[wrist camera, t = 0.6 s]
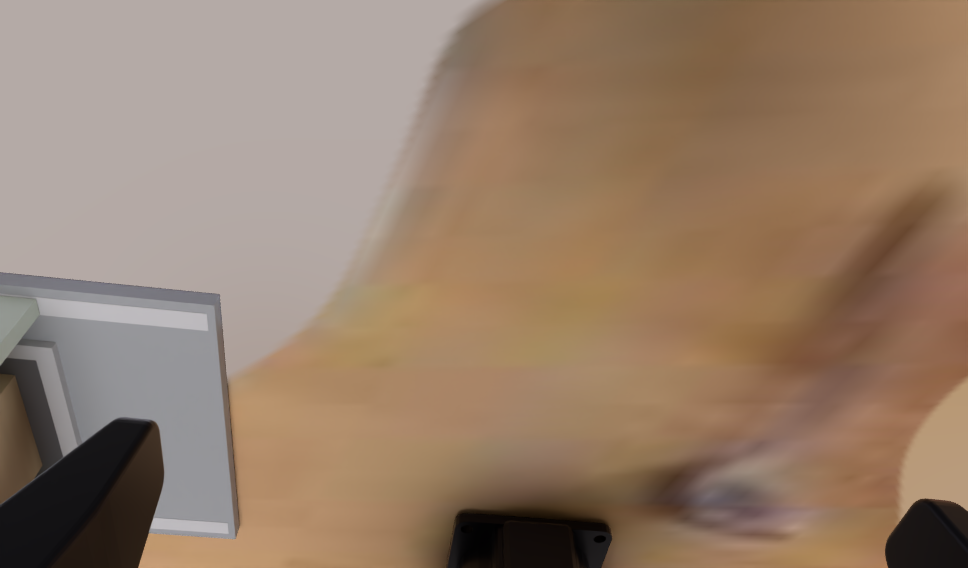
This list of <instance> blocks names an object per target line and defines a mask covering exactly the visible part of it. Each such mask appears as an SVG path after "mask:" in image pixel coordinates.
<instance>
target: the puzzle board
mask: <svg viewBox="0 0 968 568" xmlns="http://www.w3.org/2000/svg"><path fill="white" fill-rule="evenodd" d="M0 296H8V297H18V298H28V299H36V302H37V305H38V309H39V313H40V315H39V316H38V318H37V319H36V320H35V321H34V323H33V324H32V325H31V327H30V328H29V329H28V331H27V332H26V333H25V334H24V336H23V337H22V338H21V340H20V341H19V342H18V343H17V345H16V346H15V347H14V349H13V350H12V351H11V352H10V354H9V355H8V356H7V358H6V359H5V360H4V362H3V363H2V364H1V365H0V374H8V375H15V378H16V381H17V384H18V387H19V391H20V394H21V397H22V400H23V404H24V407H25V410H26V413H27V417H28V420H29V423H30V426H31V429H32V433H33V436H34V439H35V442H36V446H37V449H38V452H39V455H40V459H41V462H42V467H41V468H40V470H39V472H38V473H37V475H36V477H37V476H39V475H40V474H41V473H43V472H44V471H45V470H47V469H48V468H49V467H51V466H52V465H53V464H55V463H56V462H57V461H59V460H60V459H61V458H63V457H64V456H65V455H67V454H68V453H69V452H71V451H72V450H73V449H75V448H76V447H77V446H79V445H80V444H81V443H83V442H84V441H85V440H87V439H88V438H89V437H91V436H92V435H93V434H95V433H96V432H97V431H99V430H100V429H101V428H103V427H104V426H105V425H107V424H108V423H109V422H111V421H112V420H114V419H116V418H119V417H130V418H140V419H150V420H153V421H155V422H156V423H157V424H158V427H159V430H160V437H161V446H162V454H163V462H164V483H163V488H162V492H161V495H160V498H159V501H158V505H157V508H156V511H155V514H154V518H153V521H152V524H151V527H150V531H149V533H154V534H168V535H182V536H197V537H211V538H225V539H236V536H237V533H238V530H239V516H238V505H237V493H236V481H235V470H234V458H233V446H232V434H231V423H230V411H229V399H228V388H227V376H226V365H225V353H224V341H223V329H222V317H221V307H220V295H219V294H212V293H201V292H191V291H181V290H172V289H161V288H152V287H141V286H131V285H121V284H111V283H101V282H91V281H81V280H71V279H60V278H51V277H41V276H31V275H21V274H11V273H1V272H0ZM36 477H35V478H36ZM35 478H34V479H35Z"/></svg>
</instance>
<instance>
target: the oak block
mask: <svg viewBox="0 0 968 568" xmlns="http://www.w3.org/2000/svg"><path fill="white" fill-rule="evenodd" d="M41 467H42V462H41V459H40V455H39V452H38V449H37V446H36V442H35V439H34V436H33V433H32V429H31V426H30V423H29V420H28V417H27V413H26V410H25V407H24V404H23V400H22V397H21V394H20V391H19V387H18V384H17V381H16V378H15V375H8V374H0V504H2V503H3V502H4V501H6V500H7V499H8V498H10V497H11V496H12V495H14V494H15V493H16V492H18V491H19V490H20V489H22V488H23V487H24V486H26V485H27V484H28V483H30V482H31V481H32V480H34V478H35V477H36V475H37V473H38V472H39V470H40V468H41Z"/></svg>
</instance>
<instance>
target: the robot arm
mask: <svg viewBox="0 0 968 568" xmlns="http://www.w3.org/2000/svg"><path fill="white" fill-rule="evenodd" d="M163 483H164V462H163V454H162V446H161V437H160V430H159V427H158V424H157V423H156V422H155V421H153V420H150V419H140V418H130V417H119V418H116V419H114V420H112V421H111V422H109V423H108V424H107V425H105V426H104V427H103V428H101V429H100V430H99V431H97V432H96V433H95V434H93V435H92V436H91V437H89V438H88V439H87V440H85V441H84V442H83V443H81V444H80V445H79V446H77V447H76V448H75V449H73V450H72V451H71V452H69V453H68V454H67V455H65V456H64V457H63V458H61V459H60V460H59V461H57V462H56V463H55V464H53V465H52V466H51V467H49V468H48V469H47V470H45V471H44V472H43V473H41V474H40V475H39V476H37V477H36V478H35V479H34V480H32V481H31V482H30V483H28V484H27V485H26V486H24V487H23V488H22V489H20V490H19V491H18V492H16V493H15V494H14V495H12V496H11V497H10V498H8V499H7V500H6V501H4V502H3V503H2V504H0V568H138V566H139V563H140V560H141V557H142V553H143V550H144V547H145V544H146V540H147V537H148V534H149V531H150V527H151V524H152V521H153V518H154V514H155V511H156V508H157V505H158V501H159V498H160V495H161V492H162V488H163ZM611 541H612V535H611V529H610V527H609V526H608V525H606V524H602V523H590V522H577V521H564V520H550V519H537V518H524V517H511V516H498V515H484V514H471V513H464V514H461V515H459V516H457V517H456V519H455V522H454V527H453V533H452V538H451V544H450V549H449V555H448V560H447V566H446V568H601V566H602V564H603V561H604V559H605V556H606V553H607V551H608V548H609V546H610V543H611ZM885 556H886V561H887V565H888V568H968V511H966V510H965V509H964V508H963V507H961V506H960V505H958V504H956V503H954V502H951V501H945V500H944V501H943V500H935V499H920V500H918V501H916V502H915V503H914V504H913V505H912V506H911V507H910V509H909V510H908V511H907V513H906V514H905V515H904V517H903V518H902V519H901V521H900V522H899V524H898V525H897V526H896V528H895V529H894V530H893V532H892V533H891V534H890V536H889V538H888V539H887V542H886V547H885Z"/></svg>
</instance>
